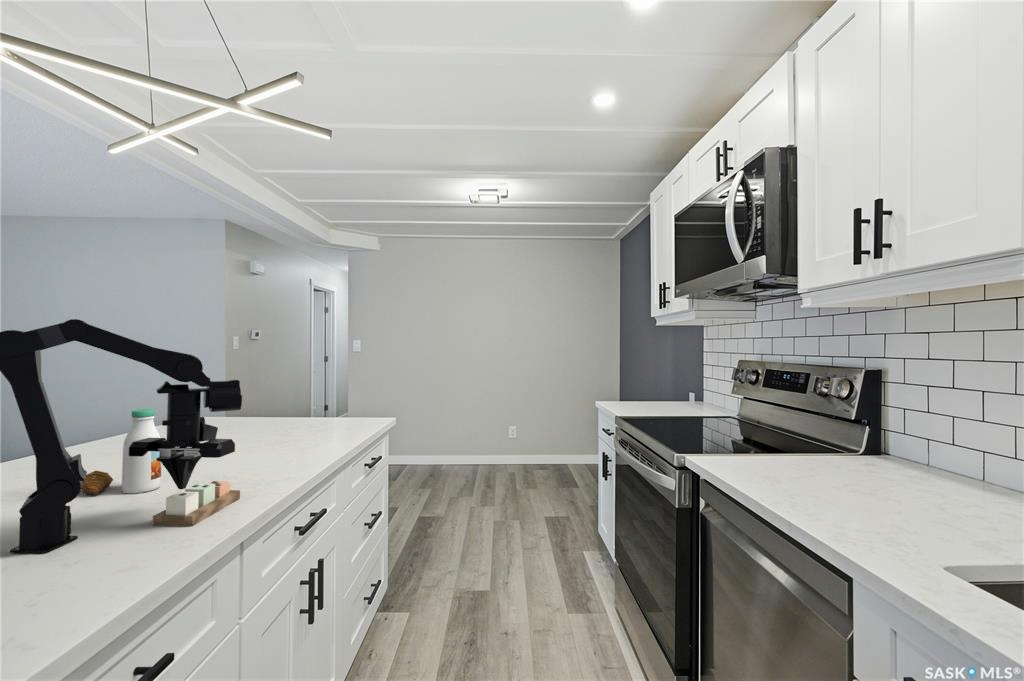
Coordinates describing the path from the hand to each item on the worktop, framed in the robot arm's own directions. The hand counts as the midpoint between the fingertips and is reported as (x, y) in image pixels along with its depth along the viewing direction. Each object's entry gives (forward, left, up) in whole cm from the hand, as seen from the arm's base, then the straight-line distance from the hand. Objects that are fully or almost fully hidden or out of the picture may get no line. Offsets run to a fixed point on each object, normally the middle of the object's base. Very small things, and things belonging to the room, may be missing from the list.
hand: (182, 488), depth 99 cm
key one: (0, 0, -5) cm, 5 cm away
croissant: (+19, +35, -7) cm, 40 cm away
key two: (+6, 0, -5) cm, 8 cm away
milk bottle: (+20, +24, -7) cm, 32 cm away
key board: (+6, 0, -7) cm, 9 cm away
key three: (+12, 0, -6) cm, 13 cm away
